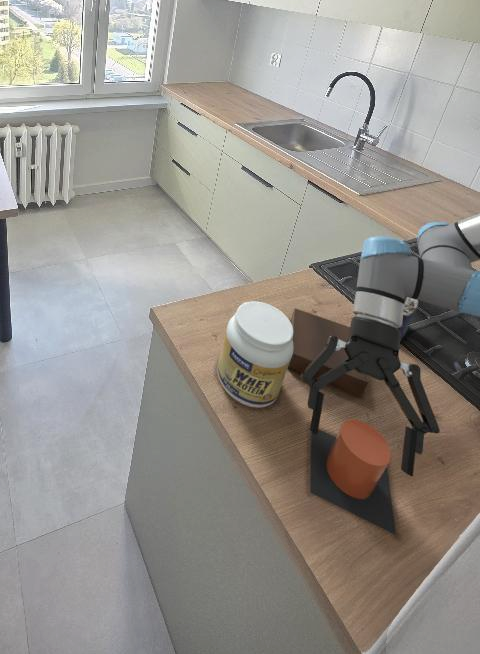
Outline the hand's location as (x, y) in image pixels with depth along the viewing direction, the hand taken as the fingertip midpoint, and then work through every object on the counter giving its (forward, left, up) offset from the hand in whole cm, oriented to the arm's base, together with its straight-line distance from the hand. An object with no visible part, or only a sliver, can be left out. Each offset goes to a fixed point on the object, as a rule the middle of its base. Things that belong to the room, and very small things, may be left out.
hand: (358, 452), depth 69 cm
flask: (-12, -39, -5) cm, 41 cm away
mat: (0, +1, -5) cm, 5 cm away
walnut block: (+4, -23, -5) cm, 24 cm away
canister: (0, +1, -4) cm, 5 cm away
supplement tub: (+18, -9, -5) cm, 21 cm away
